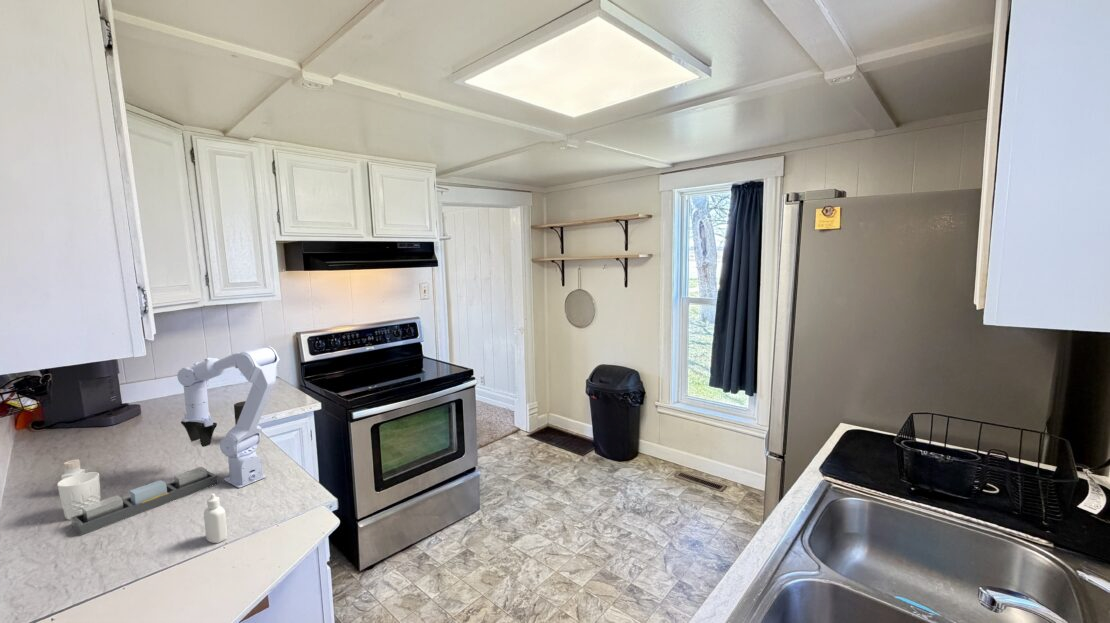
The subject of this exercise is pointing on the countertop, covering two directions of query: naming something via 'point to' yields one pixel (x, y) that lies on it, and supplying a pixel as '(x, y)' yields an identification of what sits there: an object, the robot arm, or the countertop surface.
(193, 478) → the tray
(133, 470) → the countertop surface
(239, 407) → the deodorant
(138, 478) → the countertop surface
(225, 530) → the eye dropper bottle
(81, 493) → the white cup
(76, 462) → the salt shaker
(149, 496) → the light blue rectangular block
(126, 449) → the countertop surface
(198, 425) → the robot arm
